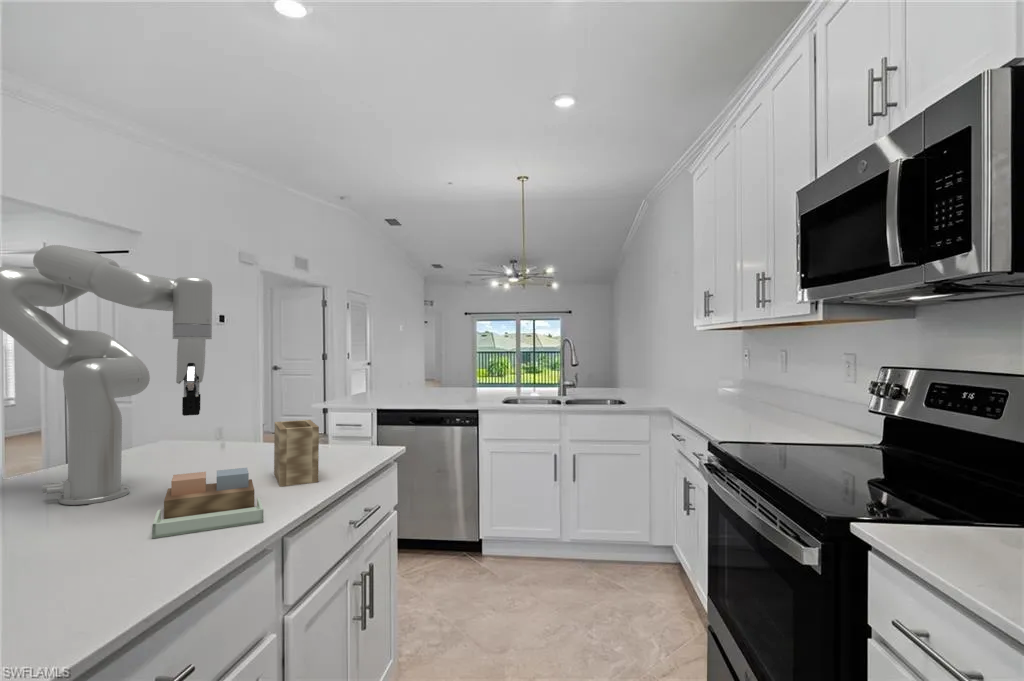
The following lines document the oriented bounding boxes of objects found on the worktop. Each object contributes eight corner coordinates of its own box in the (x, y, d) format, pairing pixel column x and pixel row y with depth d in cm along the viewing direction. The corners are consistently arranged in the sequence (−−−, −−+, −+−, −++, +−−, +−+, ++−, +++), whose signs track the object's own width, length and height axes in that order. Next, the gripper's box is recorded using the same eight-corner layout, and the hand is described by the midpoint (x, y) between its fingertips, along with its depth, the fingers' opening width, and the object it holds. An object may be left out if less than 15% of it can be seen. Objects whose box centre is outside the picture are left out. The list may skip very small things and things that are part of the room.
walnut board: (163, 521, 103) (164, 500, 103) (167, 507, 111) (168, 488, 111) (254, 508, 110) (254, 489, 110) (251, 496, 119) (251, 479, 119)
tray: (152, 538, 93) (152, 524, 93) (157, 522, 102) (157, 509, 102) (263, 522, 102) (263, 509, 102) (259, 508, 110) (259, 497, 111)
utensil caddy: (279, 486, 128) (280, 429, 128) (274, 474, 140) (274, 421, 140) (318, 482, 132) (318, 426, 132) (309, 470, 144) (310, 419, 144)
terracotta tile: (171, 496, 106) (171, 481, 106) (173, 488, 111) (173, 474, 111) (205, 492, 109) (205, 477, 109) (205, 485, 114) (206, 471, 114)
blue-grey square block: (216, 490, 110) (216, 476, 110) (216, 484, 115) (216, 470, 115) (248, 487, 113) (248, 473, 113) (246, 480, 118) (247, 467, 118)
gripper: (175, 333, 123) (174, 410, 122) (169, 331, 108) (168, 419, 107) (212, 333, 126) (211, 408, 126) (211, 332, 111) (210, 417, 111)
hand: (191, 412), depth 117 cm, fingers open, 5 cm apart
